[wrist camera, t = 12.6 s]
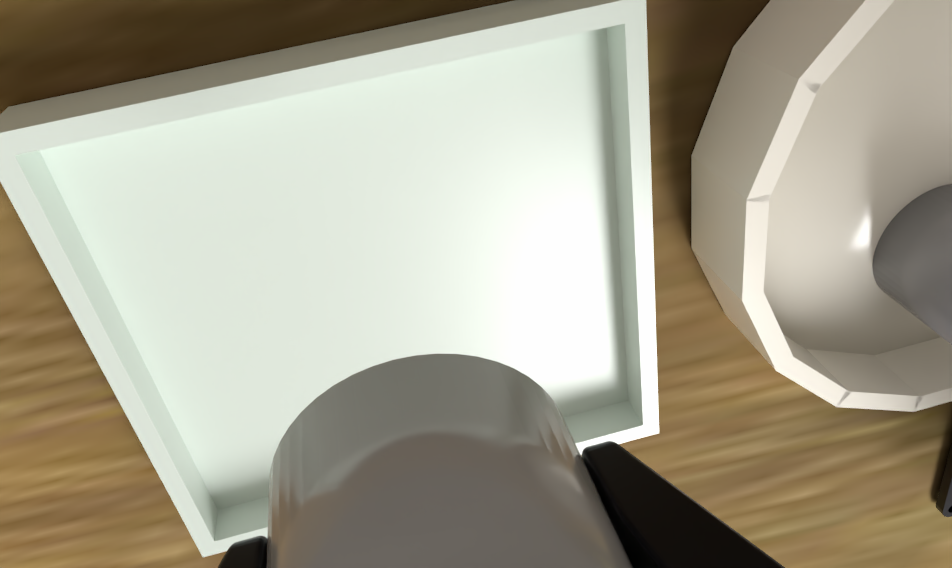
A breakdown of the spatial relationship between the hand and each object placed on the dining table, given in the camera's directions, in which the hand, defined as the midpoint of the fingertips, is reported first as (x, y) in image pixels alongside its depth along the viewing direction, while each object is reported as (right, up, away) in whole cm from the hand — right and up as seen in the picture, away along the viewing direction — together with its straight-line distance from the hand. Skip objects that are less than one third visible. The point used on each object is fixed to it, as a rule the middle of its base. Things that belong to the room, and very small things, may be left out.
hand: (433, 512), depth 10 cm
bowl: (+14, +7, +13) cm, 20 cm away
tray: (-2, +3, +11) cm, 12 cm away
